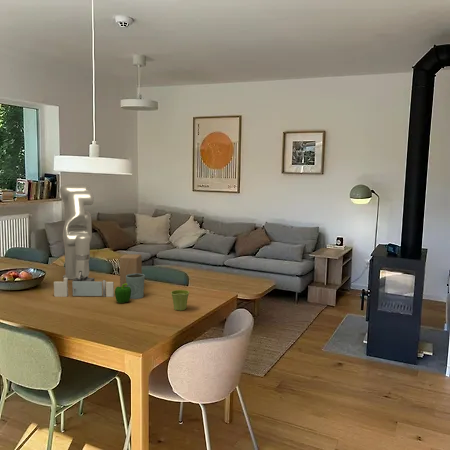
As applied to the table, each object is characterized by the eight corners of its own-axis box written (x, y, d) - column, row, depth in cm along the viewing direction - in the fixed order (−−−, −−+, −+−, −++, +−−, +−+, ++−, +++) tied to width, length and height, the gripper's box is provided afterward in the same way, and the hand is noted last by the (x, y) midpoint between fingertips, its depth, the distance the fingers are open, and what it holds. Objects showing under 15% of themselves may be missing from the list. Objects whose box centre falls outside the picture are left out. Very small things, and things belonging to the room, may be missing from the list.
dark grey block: (77, 288, 256) (77, 277, 255) (94, 289, 255) (94, 277, 255) (72, 291, 249) (72, 280, 248) (90, 292, 249) (89, 281, 248)
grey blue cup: (126, 299, 239) (125, 277, 237) (126, 294, 249) (125, 273, 247) (145, 298, 241) (145, 277, 239) (144, 293, 251) (144, 272, 249)
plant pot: (168, 307, 227) (168, 290, 226) (186, 305, 231) (186, 288, 229) (173, 312, 218) (173, 295, 217) (191, 310, 222) (191, 293, 221)
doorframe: (55, 295, 245) (54, 277, 243) (113, 296, 245) (113, 278, 244) (54, 296, 243) (53, 278, 242) (113, 296, 244) (112, 279, 242)
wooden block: (142, 287, 263) (141, 254, 260) (137, 292, 253) (136, 257, 251) (125, 287, 264) (125, 253, 261) (120, 291, 254) (119, 257, 252)
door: (102, 295, 245) (102, 281, 244) (101, 296, 242) (100, 282, 241) (73, 295, 244) (73, 281, 243) (71, 296, 242) (71, 282, 241)
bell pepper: (111, 303, 233) (110, 284, 232) (121, 298, 240) (120, 280, 239) (124, 305, 229) (123, 286, 228) (134, 301, 237) (133, 282, 235)
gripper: (80, 254, 258) (81, 283, 261) (71, 260, 241) (72, 292, 243) (93, 254, 258) (94, 283, 261) (85, 260, 241) (85, 292, 244)
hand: (83, 287), depth 252 cm, fingers closed on dark grey block, 7 cm apart
